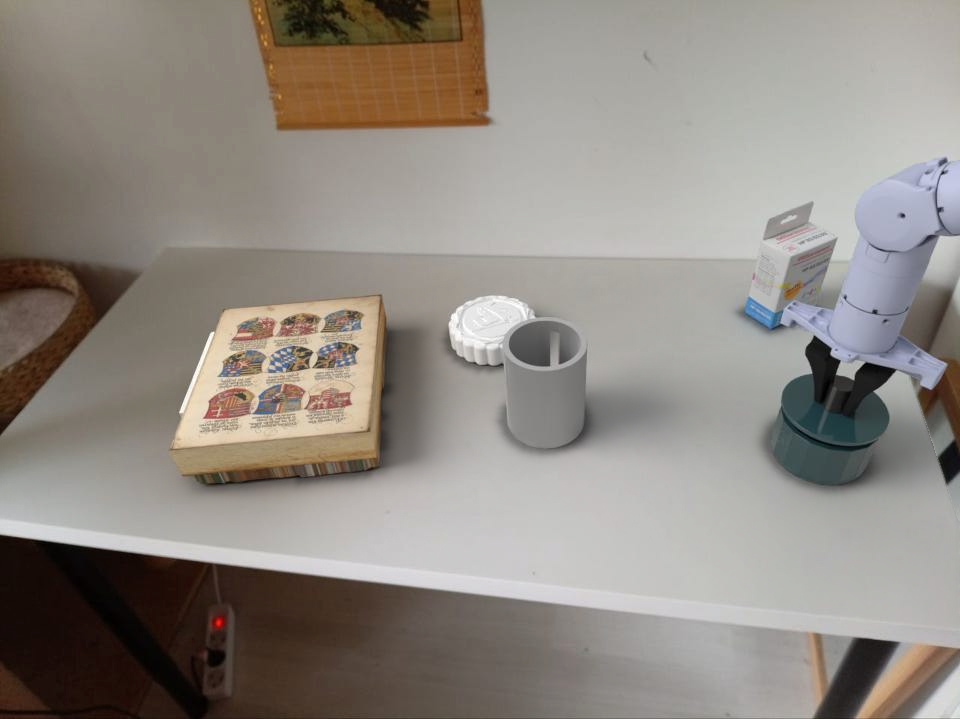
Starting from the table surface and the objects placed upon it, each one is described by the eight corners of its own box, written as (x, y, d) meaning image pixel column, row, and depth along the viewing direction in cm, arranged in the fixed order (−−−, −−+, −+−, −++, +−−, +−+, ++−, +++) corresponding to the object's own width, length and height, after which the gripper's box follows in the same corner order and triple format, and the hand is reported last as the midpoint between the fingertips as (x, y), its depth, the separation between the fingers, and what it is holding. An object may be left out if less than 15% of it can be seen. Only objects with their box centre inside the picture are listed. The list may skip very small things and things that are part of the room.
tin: (885, 473, 72) (902, 438, 69) (803, 494, 71) (816, 460, 67) (829, 411, 79) (842, 377, 76) (754, 429, 78) (763, 396, 74)
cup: (516, 454, 78) (511, 377, 70) (501, 400, 85) (495, 324, 77) (593, 440, 78) (597, 362, 71) (572, 388, 85) (574, 311, 77)
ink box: (771, 331, 91) (796, 235, 81) (743, 312, 94) (764, 218, 85) (816, 310, 94) (846, 214, 84) (787, 292, 97) (813, 198, 87)
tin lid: (909, 437, 68) (924, 406, 65) (817, 460, 67) (828, 430, 64) (844, 372, 76) (855, 342, 73) (760, 391, 74) (768, 362, 71)
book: (220, 339, 99) (163, 491, 77) (205, 303, 95) (141, 453, 73) (389, 323, 99) (379, 470, 77) (382, 286, 95) (370, 431, 73)
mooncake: (519, 304, 99) (518, 283, 97) (551, 353, 91) (550, 332, 88) (440, 324, 97) (437, 303, 95) (465, 376, 88) (462, 355, 86)
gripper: (777, 285, 64) (750, 390, 73) (944, 353, 55) (890, 462, 64) (815, 254, 67) (784, 358, 76) (977, 313, 59) (921, 423, 67)
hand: (835, 403), depth 70 cm, fingers closed on tin lid, 2 cm apart
